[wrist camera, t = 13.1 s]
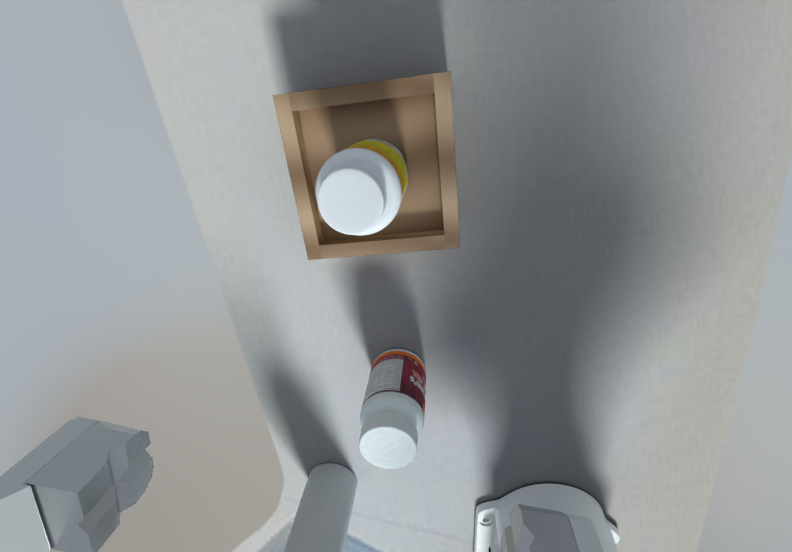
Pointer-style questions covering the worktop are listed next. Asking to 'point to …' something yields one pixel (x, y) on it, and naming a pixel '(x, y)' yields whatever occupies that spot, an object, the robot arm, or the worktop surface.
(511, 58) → the worktop surface
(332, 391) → the worktop surface
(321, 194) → the supplement bottle
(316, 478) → the bottle
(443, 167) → the brown wooden box
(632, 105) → the worktop surface
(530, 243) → the worktop surface
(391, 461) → the pill bottle
